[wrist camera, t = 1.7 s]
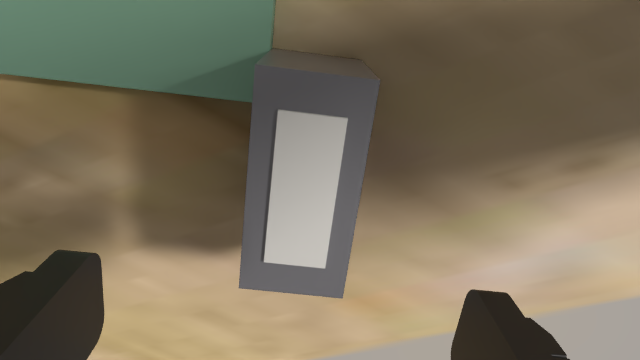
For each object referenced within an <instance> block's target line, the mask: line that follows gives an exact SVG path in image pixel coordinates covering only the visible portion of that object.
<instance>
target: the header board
mask: <svg viewBox="0 0 640 360" xmlns="http://www.w3.org/2000/svg"><path fill="white" fill-rule="evenodd" d="M275 3H276V0H0V74H8V75H17V76H26V77H35V78H43V79H52V80H61V81H69V82H78V83H87V84H95V85H104V86H113V87H122V88H130V89H139V90H148V91H156V92H165V93H174V94H182V95H191V96H200V97H208V98H217V99H226V100H235V101H243V102H252V99H253V85H254V71H255V64H256V63H257V62H258V61H259V60H260V59H261V58H262V57H263V56H265V55H266V54H267V53H268V52H269V51H270V50H271V49H272V42H273V29H274V16H275Z"/></svg>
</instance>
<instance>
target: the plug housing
mask: <svg viewBox="0 0 640 360" xmlns="http://www.w3.org/2000/svg"><path fill="white" fill-rule="evenodd" d="M379 86H380V79H379V78H378V77H377V76H376V75H375V74H374V73H373V72H372V71H371V70H370V69H369V68H368V67H367V65H366V64H365V63H364V62H363V61H362V60H359V59H351V58H343V57H336V56H328V55H320V54H313V53H305V52H297V51H290V50H282V49H274V48H272V49H271V50H270V51H269V52H268V53H267V54H266V55H265V56H263V57H262V58H261V59H260V60H259V61H258V62H257V63H256V64H255V71H254V85H253V99H252V113H251V127H250V140H249V154H248V168H247V182H246V196H245V210H244V224H243V238H242V251H241V265H240V279H239V288H242V289H252V290H262V291H273V292H283V293H293V294H303V295H313V296H323V297H333V298H343V293H344V287H345V281H346V276H347V270H348V264H349V258H350V253H351V247H352V241H353V235H354V230H355V224H356V218H357V212H358V207H359V201H360V195H361V189H362V183H363V178H364V172H365V166H366V160H367V155H368V149H369V143H370V137H371V132H372V126H373V120H374V114H375V109H376V103H377V97H378V91H379Z"/></svg>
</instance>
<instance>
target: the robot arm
mask: <svg viewBox="0 0 640 360" xmlns="http://www.w3.org/2000/svg"><path fill="white" fill-rule="evenodd" d="M103 322H104V301H103V285H102V269H101V260H100V257H99V255H98V254H97V253H88V252H78V251H67V250H57V251H55V252H54V253H53V254H51V255H50V256H49V257H48V258H47V259H46V260H45V261H44V262H43V263H42V264H41V265H40V266H39V267H38V268H37V269H36V270H35V271H34V272H27V271H25V272H23V273H21V274H19V275H17V276H15V277H13V278H11V279H9V280H7V281H5V282H3V283H1V284H0V360H87V358H88V357H89V355H90V353H91V352H92V350H93V349H94V347H95V345H96V344H97V342H98V340H99V337H100V334H101V331H102V328H103ZM451 360H570V359H567V358H566V354H565V352H564V351H563V350H562V348H561V347H560V345H559V344H558V343H557V341H556V340H555V339H554V338H553V336H552V335H551V334H550V333H548V332H547V331H546V330H545V329H543V328H542V327H541V326H540V325H538V324H537V323H536V322H535V321H534V320H532V319H531V318H525V317H524V315H523V314H522V312H521V311H520V310H519V308H518V307H517V305H516V304H515V302H514V301H513V300H512V298H511V297H510V296H509V295H508V294H507V293H504V292H493V291H483V290H470V291H469V292H468V294H467V296H466V298H465V301H464V305H463V308H462V312H461V315H460V319H459V322H458V326H457V329H456V332H455V336H454V340H453V343H452V348H451Z"/></svg>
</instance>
